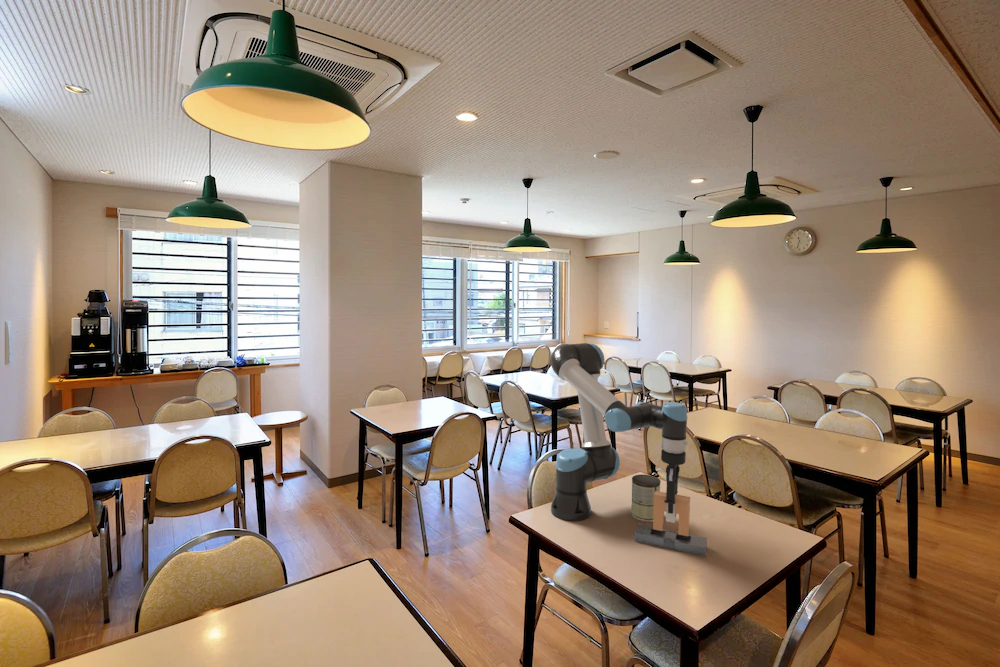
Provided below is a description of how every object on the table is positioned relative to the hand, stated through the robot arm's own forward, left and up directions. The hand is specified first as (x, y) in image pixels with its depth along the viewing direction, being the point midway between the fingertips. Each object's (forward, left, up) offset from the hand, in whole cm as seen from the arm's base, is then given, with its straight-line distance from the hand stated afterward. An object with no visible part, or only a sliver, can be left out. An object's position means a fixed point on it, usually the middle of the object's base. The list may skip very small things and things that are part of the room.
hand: (671, 518), depth 159 cm
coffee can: (-11, +18, -9) cm, 23 cm away
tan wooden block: (0, 0, -4) cm, 4 cm away
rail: (0, 0, -9) cm, 9 cm away
